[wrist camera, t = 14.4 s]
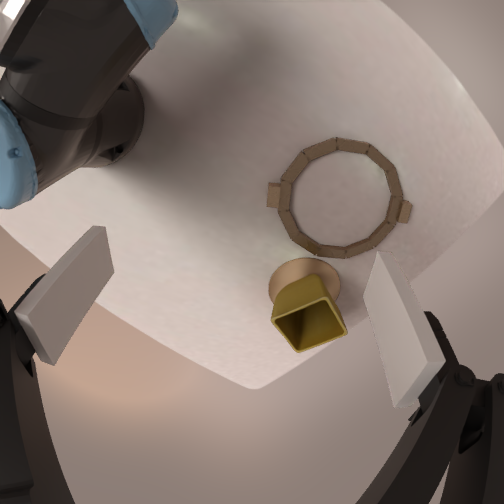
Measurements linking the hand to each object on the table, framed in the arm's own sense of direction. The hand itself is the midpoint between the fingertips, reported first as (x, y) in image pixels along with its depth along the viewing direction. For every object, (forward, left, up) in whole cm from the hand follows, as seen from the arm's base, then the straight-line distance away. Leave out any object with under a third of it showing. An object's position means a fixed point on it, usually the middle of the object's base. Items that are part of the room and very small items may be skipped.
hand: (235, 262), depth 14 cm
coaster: (+9, -23, -29) cm, 38 cm away
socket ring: (+12, -7, -29) cm, 32 cm away
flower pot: (+9, -23, -28) cm, 38 cm away
